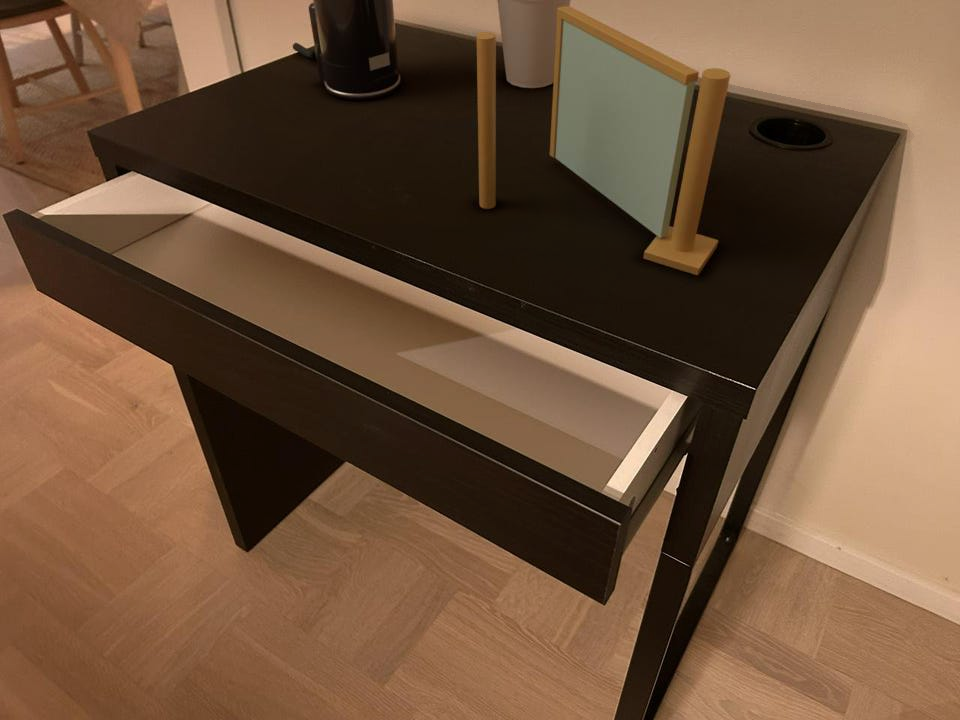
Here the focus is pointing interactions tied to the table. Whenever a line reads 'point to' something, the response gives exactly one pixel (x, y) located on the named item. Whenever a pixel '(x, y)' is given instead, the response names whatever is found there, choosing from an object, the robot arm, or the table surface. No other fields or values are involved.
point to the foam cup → (529, 40)
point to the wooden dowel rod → (486, 118)
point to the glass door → (620, 116)
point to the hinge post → (694, 183)
